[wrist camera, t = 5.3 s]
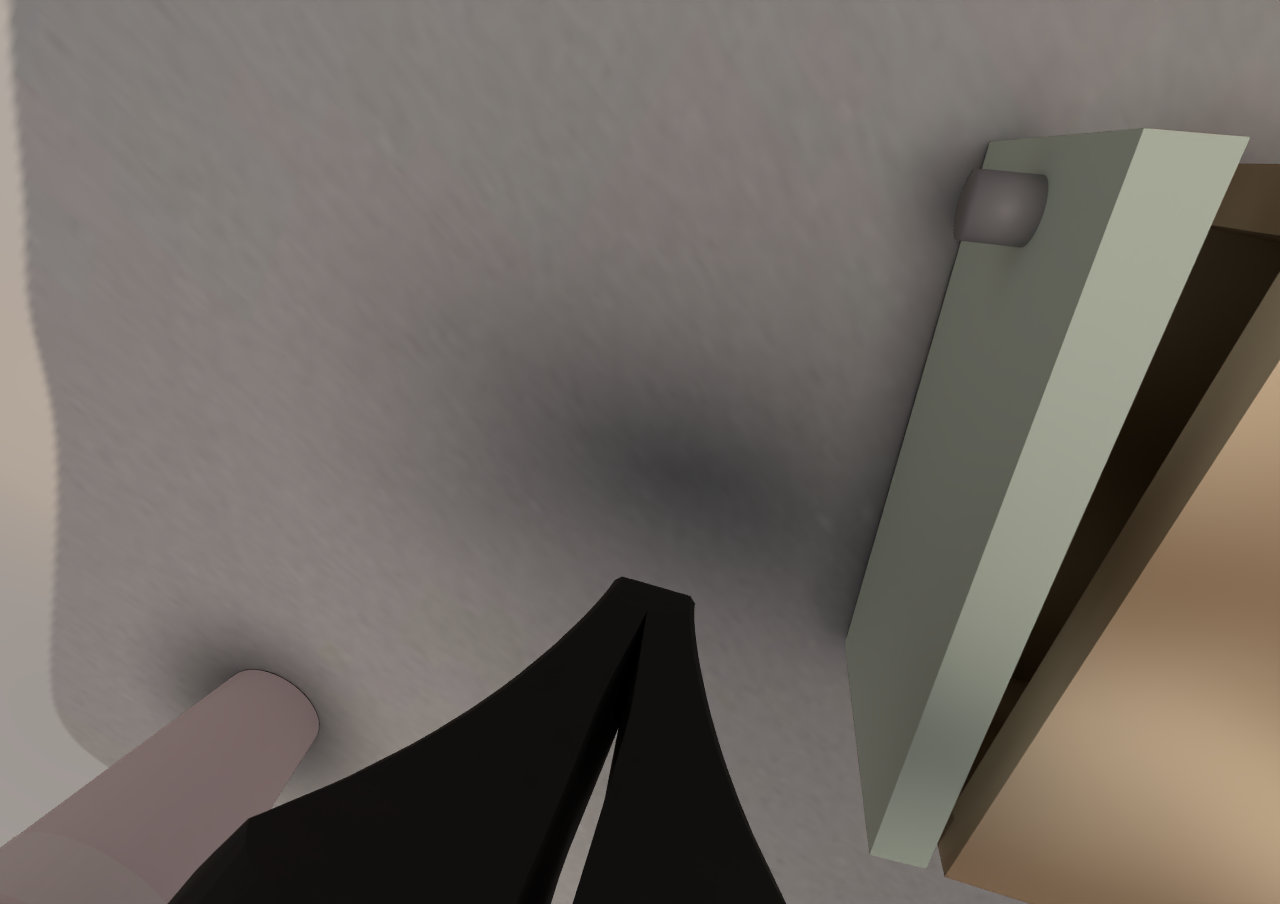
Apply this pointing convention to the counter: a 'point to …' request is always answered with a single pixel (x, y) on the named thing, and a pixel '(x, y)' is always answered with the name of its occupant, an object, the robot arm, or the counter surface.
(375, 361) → the counter surface
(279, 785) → the smoothie
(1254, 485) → the wooden box
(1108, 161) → the door
